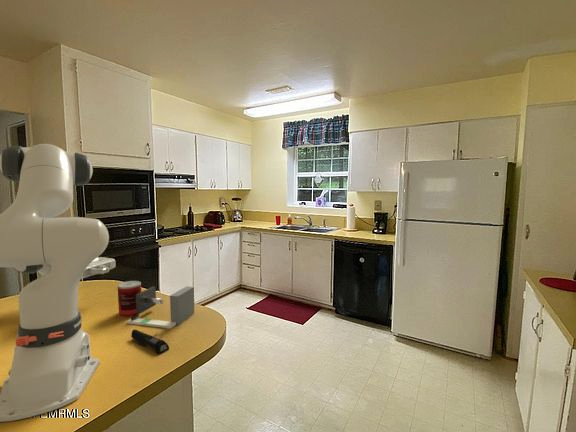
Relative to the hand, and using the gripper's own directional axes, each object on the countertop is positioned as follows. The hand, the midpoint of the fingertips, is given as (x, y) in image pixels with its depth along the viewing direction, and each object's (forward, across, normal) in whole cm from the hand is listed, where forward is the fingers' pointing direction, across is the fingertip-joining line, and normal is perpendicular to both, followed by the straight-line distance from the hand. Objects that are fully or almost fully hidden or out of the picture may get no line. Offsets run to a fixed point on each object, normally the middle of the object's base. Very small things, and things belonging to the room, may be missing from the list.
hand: (106, 270), depth 111 cm
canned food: (+10, 0, +15) cm, 19 cm away
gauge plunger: (+20, -2, +14) cm, 25 cm away
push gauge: (+25, -2, +15) cm, 29 cm away
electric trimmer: (+33, -19, +15) cm, 41 cm away
